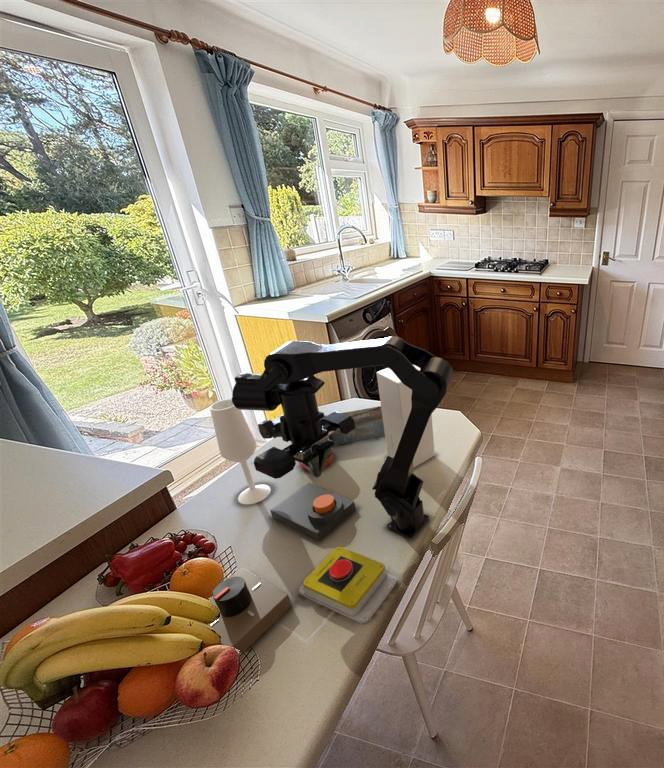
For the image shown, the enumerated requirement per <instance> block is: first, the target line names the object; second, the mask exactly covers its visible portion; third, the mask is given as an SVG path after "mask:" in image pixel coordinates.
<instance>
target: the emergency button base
mask: <svg viewBox="0 0 664 768" xmlns="http://www.w3.org/2000/svg"><path fill="white" fill-rule="evenodd" d="M325 494H329V495H332V496H333V497H334V502H335V507H334V509H333V510H331V511H330V512H327V513H324V514H318V513H316V512H315V509H314V506H313V502H314V500H315V499H316V498H317V497H319V496H321V495H325ZM355 510H356V503H355V501H353V500H351V499H350V498H349V499H348V498H346V497H344V496H341V495H339V494H338V493H335V492H332V491H330V490H328V489H325V488H323V487H322V486H318V485H316V484H315V483H314V484H313V483H311V482H307V483H306V484H305V485H303V486H301V487H300V488H298V490H296V491H294V492H293V493H292V494H291V495H289V496H287V497H286V498H285V499H284V500H282V501H281V502H280V503H278V504H277V505H275V506H274V507H273V508H271V509H270V510H269V511H270V514H271V517H272V518H273V519H274V520H276V521H278V522H281V523H282V524H284V525H286V526H288V527H290V528H292V529H295V530H296V531H298V532H301V533H303V534H304V535H306V536H309V537H310V538H312V539H314V540H316V541H319V542H320V541H321V540H322V539H323V538H324V537H326V536H327V535H328V534H329V533H330V532H332V531H333V530H334V529H335V528H336V527H337V526H338V525H339V524H340V523H342V522H343V521H344V520H345V519H346V518H347V517H349V515H351V514H352V513H353V512H354V511H355Z"/></svg>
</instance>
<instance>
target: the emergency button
mask: <svg viewBox="0 0 664 768" xmlns="http://www.w3.org/2000/svg"><path fill="white" fill-rule="evenodd" d="M397 582H398V580H397V577H396V575H393V574H392V573H388V572H387V570H386V566H385V564H384V563H382V562H380V561H377V560H375V559H372V558H370V557H368V556H365V555H363V554H360V553H358V552H355V551H353V550H350V549H348V548H345V547H343V546H336V547H335V548H334V549H333V550H332V551H331V552H330V553H329V554H328V555H327V556H326V557H325V558H324V559H323V560H322V561H321V562H320V563H319V564H318V565H317V566H316V567H315V568H314V569H313V570H312V572H310V574H309V575H307V577H305V579H304V580H303V583H302V584H301V585H300V587H299V588H298V591H299V594H300V595H301V596H302V597H305V598H307V599H308V600H311V601H313V602H315V603H317V604H319V605H321V606H323V607H326V608H327V609H330V610H332V611H334V612H335V613H338V614H339V615H342V616H344V617H347V618H348V619H350V620H353V621H354V622H357V623H358V624H367V623H368V622H369V621H370V620H371V619H372V617H373V616H374V614H375V613H376V612H377V611H378V609H379V608H380V607H381V605H382V604H383V602H384V601H385V600H386V598H387V597H388V596H389V594H390V593H391V591H392V590H393V589H394V588H395V586H396V585H397Z"/></svg>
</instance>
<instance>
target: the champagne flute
mask: <svg viewBox="0 0 664 768" xmlns="http://www.w3.org/2000/svg"><path fill="white" fill-rule="evenodd" d="M209 410H210V415H211V419H212V423H213V428H214V433H215V437H216V441H217V446H218V451H219V454H220V456H221V457H222V458H223V459H225V460H226V461H229V462H233V463H238V464H239V463H240V466H241V469H242V472H243V475H244V477H245V480H246V483H247V485H248V488H245V489H244V490H243V491H241V492H240V494H239V495H238V497H237V501H238V503H240V504H241V505H253V504H256V503H260V502H261V501H263V500H265V499H266V498H267V497H269V495H270V494H271V491H272V489H271V487H270V486H269V485H267V484H255V482H254V479H253V476H252V473H251V469H250V467H249V463H248V461H249V459H251V457H252V456H253V455H254V454H255V451H256V450H257V447H258V446H257V441H256V438H255V437H254V434H253V433H252V430H251V429H250V426H249V423H248V422H247V419H246V418H245V415H244V413H243V410H240V409H237V408H236V407H235V406H234V405H233V402H232V398H225V399H221V400H217V401H215V402H213V403H211V404H210V406H209Z"/></svg>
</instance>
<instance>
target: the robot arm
mask: <svg viewBox="0 0 664 768" xmlns="http://www.w3.org/2000/svg"><path fill="white" fill-rule="evenodd" d="M413 365H415V366H417V367H419V368H421V369H420V370H418V369H416V368H415V367H414V366H413ZM379 366H380V367H381V366H384V367H386V368H389V369H391V370H392V371H393V373H394V374H395V375H396V376H397V377H398V378H399V380H400V381H401V382H402V383H403V384H404V385H405V386H407V387H409V388H410V389H412V395H411V404H412V408H411V411H410V414H409V417H408V420H407V423H406V425H405V428H404V431H403V434H402V436H401V439H400V442H399V445H398V448H397V450H396V453H395V456H394V458H392V457H390V456H388V455H386V456H385V458H384V461H383V463H382V464H381V466H380V468H379V471H378V473H377V475H376V480H375V482H374V484H373V485H372V488H371V489H372V490H373V491H374V498H375V499H376V500H378V502H380V504H381V506H382V507H383V509H384V510H385V512H386V513H387V515H388V517H390V522H389V523H387V524H386V528H387V529H388V530H390V531H393V532H395V533H397V534H400V535H402V536H404V537H406V538H408V539H412V538H413V537H414V536H415V535H416V534H417V533H418V531H420V529H421V528H422V527H423V526H424V525H425V524H426V523H427V521H429V519H430V515H427V514H426V513H424V504H423V500H421V499H420V498H421V497H420V494H421V491H422V487H423V485H424V480H422V479H421V478H420V477H419V476H417V475H416V474H414V473H413V472H414V468H413V459H414V456H415V454H416V451H417V449H418V446H419V443H420V441H421V438H422V436H423V433H424V431H425V428H426V425H427V423H428V420H429V418H430V415H431V414H433V413H434V412H435V411H436V409H437V408H438V406H440V404H441V402H442V400H443V399H444V397H445V396H446V394H447V391H448V389H449V386H450V384H451V380H452V378H453V376H454V368H452V365H451V364H450V363H449V361H447V360H446V359H445V358H442V357H438V356H436V355H434V354H433V353H431V352H430V351H428V350H427V349H424V348H421V347H419V346H417V345H413V344H411V343H409V342H407V341H406V340H405V339H403V338H402V337H400V336H397V335H396V336H395V335H391V336H388V337H384V338H376V339H366V340H357V341H351V342H342V343H341V342H340V343H332V344H317V343H315V342H312V341H306V340H305V341H303V340H290V341H286V342H285V343H284V344H282V345H281V346H279V347H278V348H276V349H275V350H274V351H272V352H270V353H269V354H268V355H267V356H266V357H265V359H264V362H263V368H264V370H263V372H262V374H260V373H250V372H241V373H238V375H236V376H235V377H234V382H235V384H234V386H233V389H232V394H231V396H232V397H231V399H232V402H233V405H234V406H235V407H236V408H237V409H240V410H241V411H261V412H263V411H265V412H273V411H276V409H278V407H279V406H281V410H282V414H281V415H280V416H278V417H276V418H274V419H268V420H267V419H266V420H265V419H264V420H263V421H261V422H259V423H258V424H257V429H258V433H259V434H260V435H261V437H262V438H263V439H264V440H267V439H272V438H273V439H276V438H281V439H282V441H283V442H286V443H289V442H290V444H288V446H285V447H283V449H281V448H278V447H275V446H271V447H270V448H268V449H267V450H265V451H263V452H262V453H260V454H258V455H256V456H255V458H254V459H253V466H254V469H255V471H257V472H259V473H261V474H264V475H266V476H268V477H270V478H273V479H275V480H278V479H281V478H283V477H284V476H286V475H288V474H289V473H290V472H292V471H293V470H294V469H295V466H296V465H297V463H296V462H298V463H299V464H300V463H302V464H304V465H305V467H306V468H307V469H308V470H307V471H309V473H310V474H311V475H312V476H313V477H314V478H316V479H318V478H319V477H321V475H322V473H323V470H324V469H325V468H324V465H325V462H326V460H327V457H328V455H329V453H330V451H331V450H332V449H333V447H335V446H336V445H335V442H333V441H330V440H329V438H328V437H329V435H330V434H332V433H333V432H335V431H337V429H338V428H339V429H340V432H341V433H343V434H348V433H349V432H351V431H352V430H354V429H355V428H356V427H355V421H354V419H353V418H352V417H351V416H348V415H345V414H342V413H343V412H339V411H336V410H334V411H332V412H331V413H329V414H326V415H327V416H325V413H324V412H323V411H321V410H319V406H318V401H317V397H316V393H318V392H319V390H321V388H322V387H324V386H325V385H326V382H325V381H324V380H322V379H321V378H318V377H316V376H315V375H317V374H320V373H324V372H334V371H343V370H350V369H361V368H370V367H379ZM322 426H323V427H322Z"/></svg>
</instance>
